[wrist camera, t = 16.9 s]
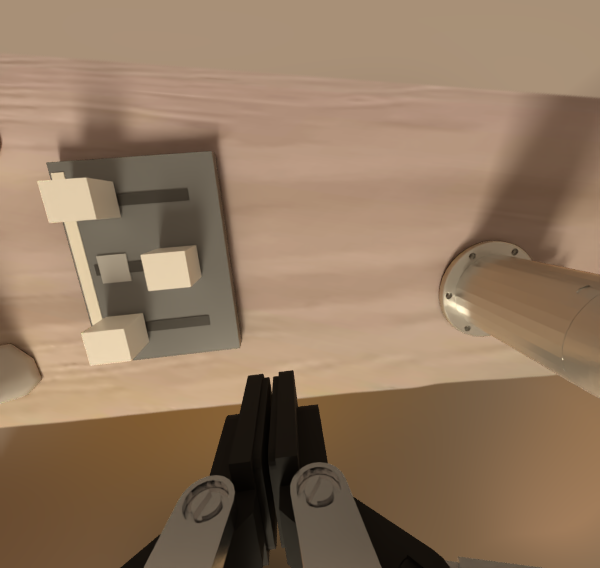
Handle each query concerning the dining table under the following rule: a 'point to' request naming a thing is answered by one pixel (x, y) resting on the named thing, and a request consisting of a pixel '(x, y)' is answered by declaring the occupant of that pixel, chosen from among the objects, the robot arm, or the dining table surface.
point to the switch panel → (152, 235)
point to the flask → (16, 373)
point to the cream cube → (115, 339)
